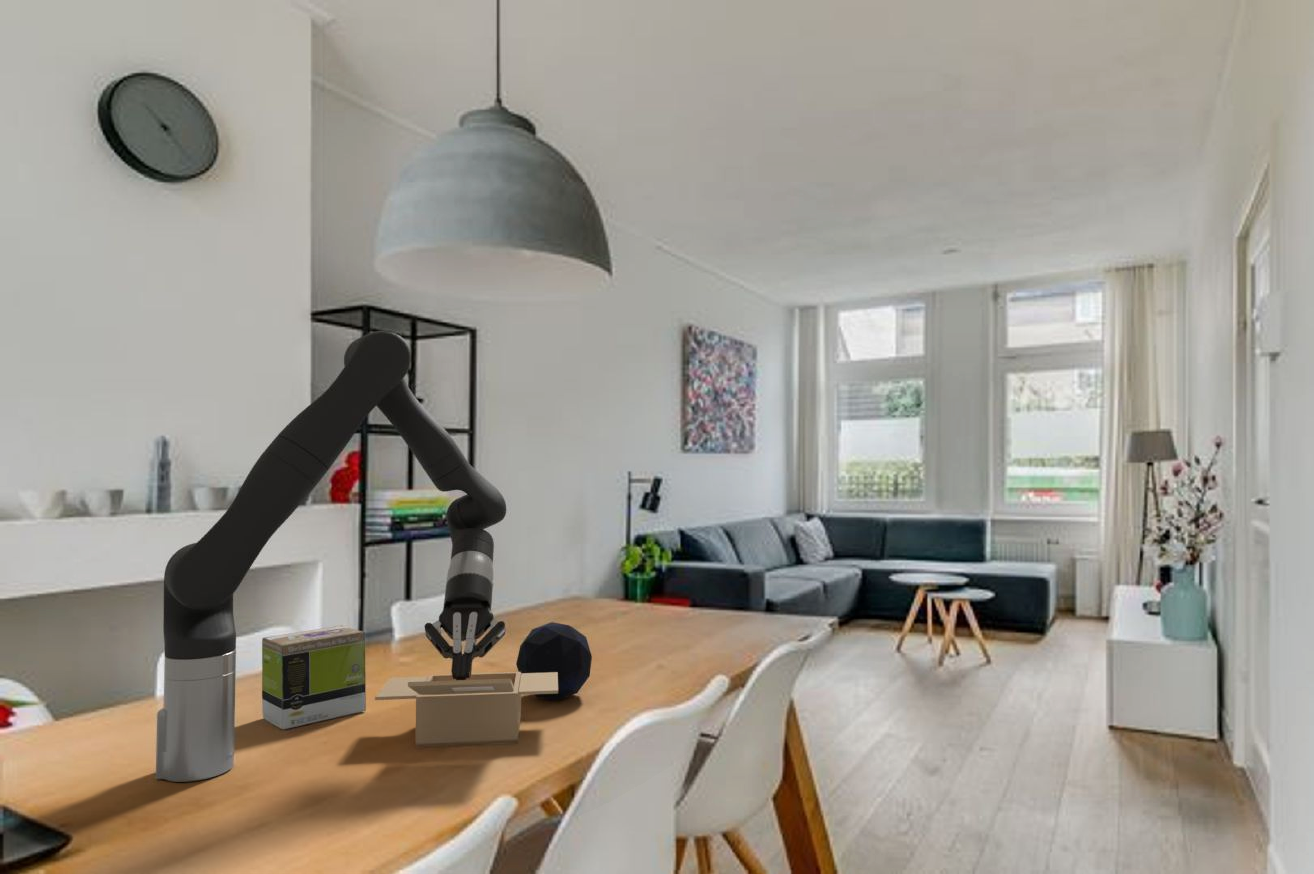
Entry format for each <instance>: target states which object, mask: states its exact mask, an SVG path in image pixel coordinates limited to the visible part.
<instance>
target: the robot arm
mask: <svg viewBox="0 0 1314 874" xmlns="http://www.w3.org/2000/svg"><path fill="white" fill-rule="evenodd" d="M411 360H412V355H411V351H410V346H409V344H408V342H406V340H405V339H404V338H403V337H402V336H401V335H399V334H397V333H395V332H392V331H385V330H384V331H383V330H380V331H379V330H377V331H373V332H369V333H366V334H365V335H363V336H360V337H359V338H357V339H355V340H353V341H352V342H351V343H350V344H348V347H347V348H346V350H345V352H344V355H343V365H344V367H343V369H342V370H341V371H340V372H339V374H338V375H337V377H336V379H334V381H333V382H332V383H331V384H330V386H329V387H328V388H327V389H326V390H325V391H324V392H323V393H322V394H320V395H319V397H317V398H316V399H314V401H313V402H312V403H310V404H309V405H307V406H306V407H305V408H304V409H303V410H302V411H301V412H299V414H297V415H295V417H294V418H293V419H292V420H291V421H290V422H289V423H288V424H287V425H286V426H285V427H284V428H283V429H282V430H281V431H280V432H279V433H278V435H277V436H275V438H274V439H273V440H272V441H271V442H270V444H269V445H268V446H267V448H266V449H265V450H264V451H263V452H262V453H261V455H260V456H259V457H258V459H257V461H255V463H254V465H253V466H252V467H251V469H250V470H249V473H248V474H247V476H246V478H245V480H244V481H243V483H242V485H241V487H239V490H238V492H237V494H236V496H235V498H234V500H233V501H232V502H231V504H230V506H229V507H228V508H227V510H226V511H225V513H223V515H222V516H221V517H220V518H219V519H218V520H217V522H215V524H214V525H213V526H212V527H211V528H209V530H208V531H207V532H206V533H205V534H204V535H203V536H202V537H201V538H200V539H199V540H198V541H197V542H193V543H191V544H190V543H189V544H188V545H187V544H186V545H185V546H182V547H181V548H179V549H178V550H177V551H176V552H175V553H174V554H172V555H171V557H170V559H169V560H168V561H167V563H166V565H165V566H166V567H165V569H164V577H163V628H162V629H163V639H164V640H163V643H164V653H163V654H164V666H163V667H164V668H163V670H164V671H163V672H164V673H163V675H164V676H163V708H161V709H159V710H158V712H157V713H156V736H155V738H156V740H155V741H156V742H155V746H156V747H155V780H166V781H168V782H176V783H177V782H183V783H184V782H193V781H194V782H195V781H202V780H206V779H211V778H212V777H213V778H214V777H216V776H217V777H218V776H220V775H222V774H224V773H226V772H228V771H230V770H231V769H232V768H233V767H234V766H235V765H234V764H235V728H236V727H235V723H236V722H235V721H236V720H235V719H236V718H235V717H236V713H235V712H236V674H237V673H236V669H237V668H236V665H237V664H236V663H237V659H236V658H237V657H236V655H237V649H236V648H237V630H236V626H235V618H234V593H236V591H237V589H238V587H240V585H241V583H242V582H243V580H244V578H245V576H246V575H247V573H248V572H249V571H250V569H251V567H252V566H253V564H254V563H255V560H256V559H257V558H258V556H259V555H260V553H261V552H262V550H263V549H264V547H265V546H266V544H267V543H268V541H269V540H270V539H271V538H272V536H273V535H274V534H275V533H276V532H277V531H278V530H279V528H281V526H282V525H283V524H285V522H286V521H287V520H288V519H289V518H290V517H291V515H293V513H294V512H295V511H296V510H297V509H298V508H299V506H300V505H301V504H302V502H304V501H305V499H306V498H307V497H308V496H309V495H310V494H311V492H313V490H314V489H315V488H316V486H317V485H318V484H319V483H320V481H322V479H323V477H324V476H325V475H326V474H327V472H328V471H329V470H330V468H331V467H333V464H334V463H335V461H336V460H338V458H339V457H340V455H341V453H342V452H343V451H344V450H345V448H346V447H347V445H348V444H349V443H350V441H351V439H352V438H353V437H354V435H355V433H356V432H357V431H358V429H359V428H360V426H361V424H362V423H363V422H364V421H365V420H366V418H367V417H368V416H369V414H370V413H372V411H373V409H374V408H376V407H377V408H378V410H379V411H381V413H382V414H383V415H384V417H386V418H387V420H388V421H389V423H391V426H393V428H394V429H395V430H396V431H397V433H398V434H399V435H400V437H401V438H402V440H403V441H404V443H406V445H407V447H408V448H409V450H410V451H411V452H412V454H413V455H414V457H415V458H416V460H417V461H418V463H419V464H420V466H421V467H422V469H423V470H424V471H425V473H426V474H427V476H428V478H429V479H430V480H431V483H433V485H434V486H435V488H436V489H437V490H438V491H440V492H441V493H442V492H451V491H461V492H462V493H465V494H464V495H462V496H461V497H458V498H456V499H454V500H453V501H452V502H451V503H450V504H449V506H448V508H447V510H446V522H447V526H448V529H449V530H448V531H449V536H450V540H451V545H452V546H451V555H450V563H449V567H448V570H447V575H446V583H445V592H444V599H443V607H442V608H443V609H442V611H441V613H440V614H439V616H438V619H437V620H436V621H434V622H433V623H431V622H427V623H425V624H424V632H425V637H426V638H427V640H428V641H429V642H430V643H431V644H432V645H433V647H434V648H435V649H436V650H437V652H438V653H439V654H440V655H441V656H442V657H443V658H444V659H451V670H450V671H451V674H452V677H453V679H456V680H466V678H470V676H471V673H472V669H473V661H474V660H475V659H476V658H479V659H480V658H484V657H485V656H486V655H487V654H488V653H489V652H490V651H491V650H492V649H493V648H494V646H496V645H497V644H498V643H499V641H500V640H501V639H502V638H503V637H504V636H505V635H506V623H505V622H504V621H503V620H499V621H498V620H497V619H495V618H494V617H495V616H494V613H493V612H492V603H493V601H492V599H493V588H494V584H495V583H494V565H493V564H494V550H495V544H494V543H495V542H494V538H493V536H492V535H491V533H489V532H488V531H487V530H486V529H488V528H490V527H491V526H494V525H495V526H496V524H499V523H501V522H502V521H503V520H504V519H505V517H506V514H507V503H506V500H505V498H504V496H503V495H502V493H501V492H500V491H499V489H498V488H497V487H495V486H494V485H493V484H492V483H491V482H490V481H489V480H488V479H486V478H485V477H484V476H483V475H482V474H481V473H480V472H479V471H477V470H476V469H475V468H474V467H473V466H472V465H471V464H470V463H469V462H468V459H467V458H466V456H465V455H464V454H463V452H462V451H461V449H460V448H459V446H458V444H457V443H456V442H455V440H454V439H453V437H452V436H451V435H450V434H449V433H448V431H447V430H446V429H445V428H444V427H443V425H442V424H440V423H439V421H438V420H437V419H435V417H434V416H433V415H432V414H431V413H429V411H427V409H425V407H424V406H423V405H422V404H421V403H420V401H419V400H418V398H416V397H415V395H414V393H413V391H412V390H411V388H410V387H409V385H408V384H407V382H406V380H405V377H406V375H407V374H408V371H409V369H410V366H411ZM488 629H489V631H488ZM442 630H443V631H444V632H445V634H446V635H447V636H448V637H449V639H451V640H452V645H450V644H449V642H448V641H447V640H446V639H445V638H444V637H443V636H442ZM487 631H488V632H487ZM486 632H487V633H486ZM485 633H486V634H485ZM484 634H485V635H484ZM483 635H484V636H483ZM482 636H483V637H482ZM481 637H482V638H481ZM478 639H481V640H479V641H478ZM477 641H478V642H477ZM463 642H465V644H464V643H463ZM463 644H464V645H463ZM463 646H464V651H463Z"/></svg>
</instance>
